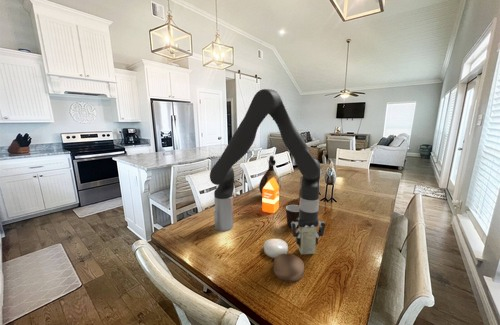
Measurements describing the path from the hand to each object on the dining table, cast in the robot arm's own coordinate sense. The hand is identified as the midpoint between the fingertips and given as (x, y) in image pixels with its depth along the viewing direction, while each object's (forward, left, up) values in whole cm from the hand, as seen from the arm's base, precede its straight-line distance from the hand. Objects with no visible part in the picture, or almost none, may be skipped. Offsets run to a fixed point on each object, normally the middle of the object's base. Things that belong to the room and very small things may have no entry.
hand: (306, 244), depth 87 cm
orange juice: (-10, +42, -4) cm, 43 cm away
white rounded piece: (-13, +1, -3) cm, 13 cm away
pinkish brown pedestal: (-10, -11, -3) cm, 15 cm away
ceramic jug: (-8, +63, -4) cm, 64 cm away
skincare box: (0, 0, -3) cm, 3 cm away
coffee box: (+17, +57, -4) cm, 60 cm away
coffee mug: (+1, +22, -4) cm, 22 cm away
